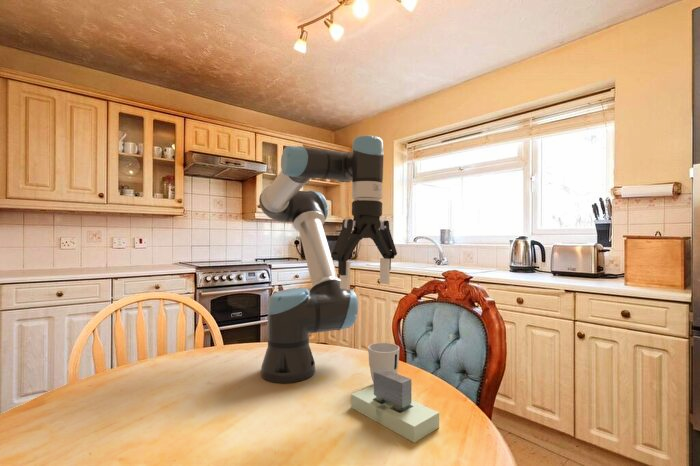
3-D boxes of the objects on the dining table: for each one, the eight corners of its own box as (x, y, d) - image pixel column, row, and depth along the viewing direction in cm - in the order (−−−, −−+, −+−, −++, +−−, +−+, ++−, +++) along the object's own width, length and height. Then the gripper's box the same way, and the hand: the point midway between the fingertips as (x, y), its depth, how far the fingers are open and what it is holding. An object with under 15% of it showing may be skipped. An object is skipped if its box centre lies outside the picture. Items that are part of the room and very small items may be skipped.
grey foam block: (373, 413, 76) (373, 371, 76) (383, 408, 78) (383, 368, 78) (402, 427, 70) (402, 383, 70) (411, 422, 72) (411, 379, 72)
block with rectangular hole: (351, 407, 79) (351, 394, 79) (375, 396, 84) (375, 384, 84) (414, 442, 65) (414, 426, 65) (439, 427, 70) (439, 412, 70)
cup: (398, 394, 85) (398, 353, 85) (365, 391, 87) (365, 351, 87) (400, 380, 93) (400, 343, 93) (370, 378, 95) (370, 341, 95)
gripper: (337, 196, 75) (336, 294, 75) (411, 202, 91) (409, 283, 91) (317, 197, 80) (315, 289, 81) (389, 203, 97) (388, 279, 97)
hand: (365, 286), depth 86 cm, fingers open, 13 cm apart
